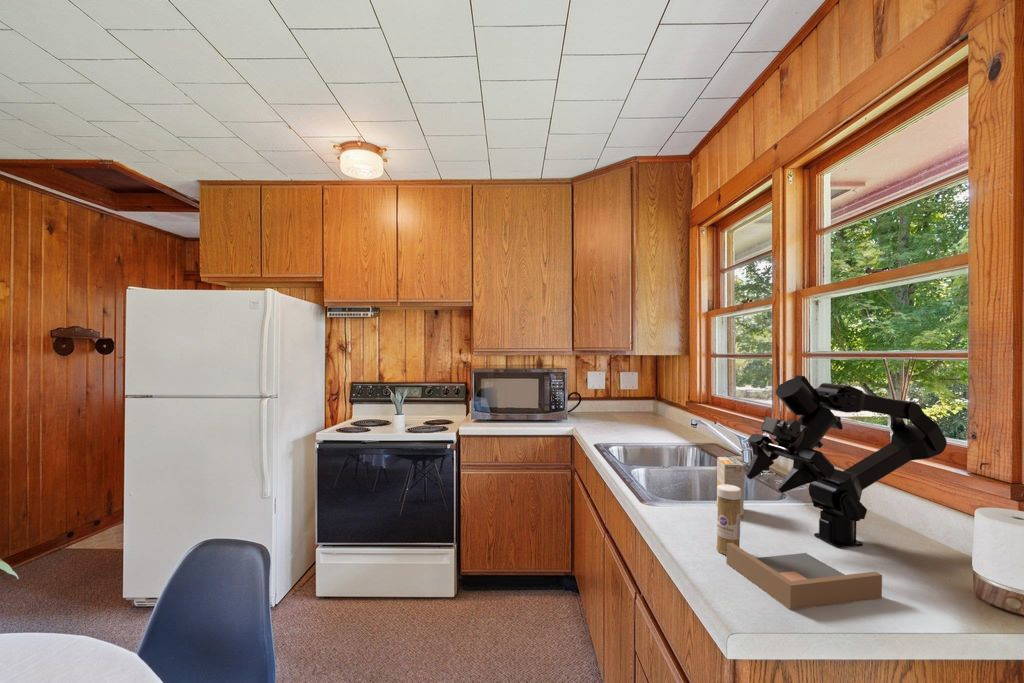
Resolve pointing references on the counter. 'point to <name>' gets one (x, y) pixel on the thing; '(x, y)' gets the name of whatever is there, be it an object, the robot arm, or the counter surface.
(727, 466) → the supplement box
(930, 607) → the counter surface
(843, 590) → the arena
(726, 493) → the sprinkles bottle
